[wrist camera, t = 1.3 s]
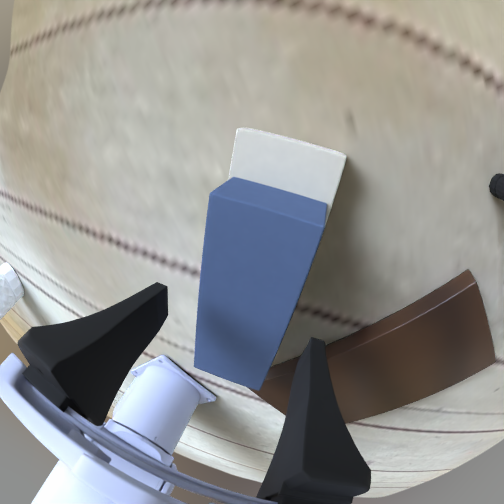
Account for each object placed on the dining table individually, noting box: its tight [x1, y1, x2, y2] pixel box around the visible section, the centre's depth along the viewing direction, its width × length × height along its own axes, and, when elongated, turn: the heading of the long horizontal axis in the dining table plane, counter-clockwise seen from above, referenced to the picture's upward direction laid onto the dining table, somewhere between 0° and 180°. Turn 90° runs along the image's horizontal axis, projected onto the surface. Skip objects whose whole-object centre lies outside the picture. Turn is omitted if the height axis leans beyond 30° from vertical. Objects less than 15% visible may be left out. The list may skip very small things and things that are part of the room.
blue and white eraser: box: [194, 127, 347, 391], centre depth 16 cm, size 16×6×4 cm, turn 169°
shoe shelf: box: [247, 269, 496, 424], centre depth 19 cm, size 20×10×2 cm, turn 134°
